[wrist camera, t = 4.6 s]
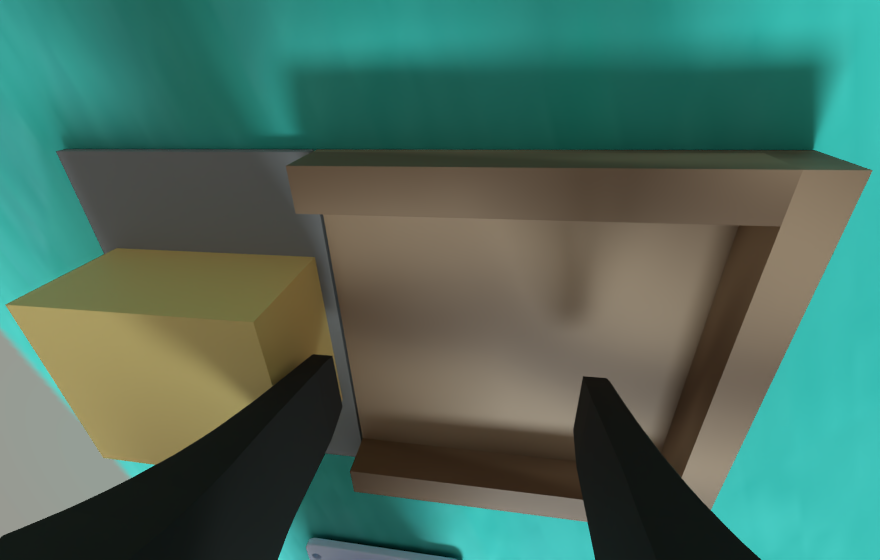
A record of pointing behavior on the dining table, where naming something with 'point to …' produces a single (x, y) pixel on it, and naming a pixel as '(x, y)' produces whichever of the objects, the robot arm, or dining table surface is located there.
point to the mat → (212, 222)
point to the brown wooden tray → (564, 304)
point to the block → (172, 341)
